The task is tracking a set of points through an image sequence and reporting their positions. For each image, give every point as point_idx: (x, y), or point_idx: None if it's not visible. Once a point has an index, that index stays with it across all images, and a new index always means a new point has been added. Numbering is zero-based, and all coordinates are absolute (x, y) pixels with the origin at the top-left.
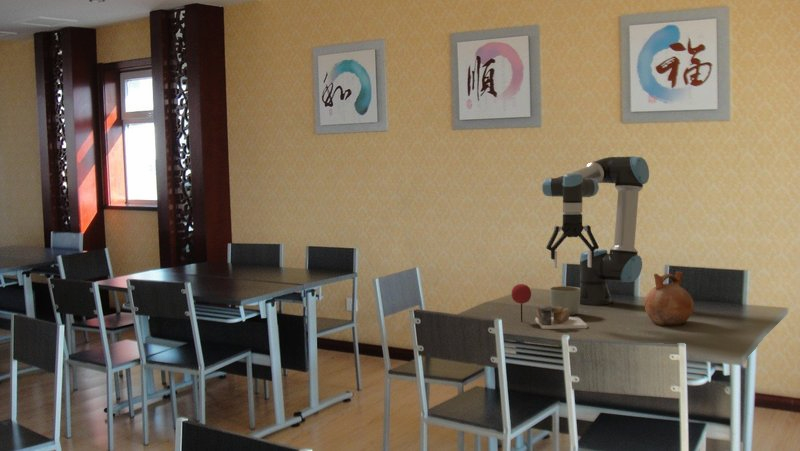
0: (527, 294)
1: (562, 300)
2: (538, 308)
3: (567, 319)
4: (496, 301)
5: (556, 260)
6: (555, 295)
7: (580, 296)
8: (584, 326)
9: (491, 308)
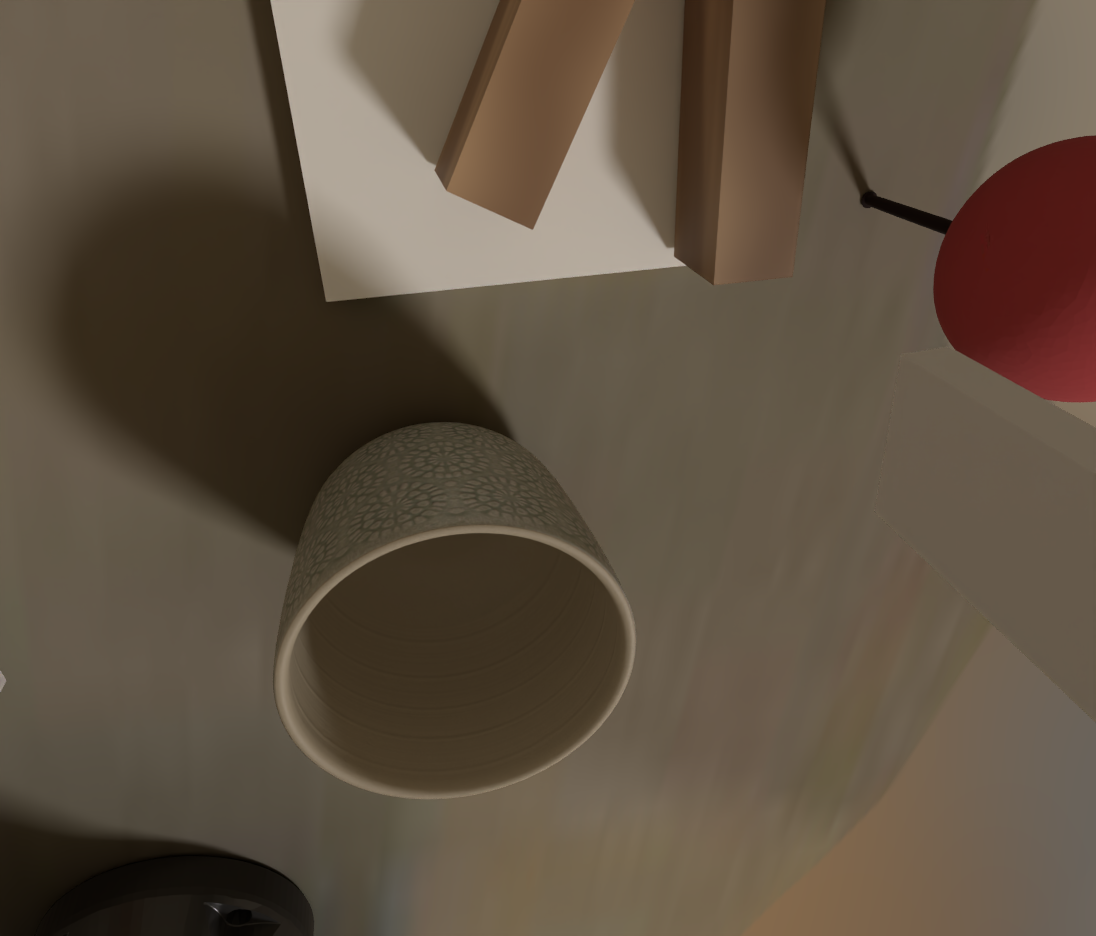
0: (1064, 158)
1: (498, 470)
2: (799, 189)
3: None
4: (822, 844)
5: (1074, 453)
6: (581, 526)
7: (278, 933)
8: None
9: (918, 665)
